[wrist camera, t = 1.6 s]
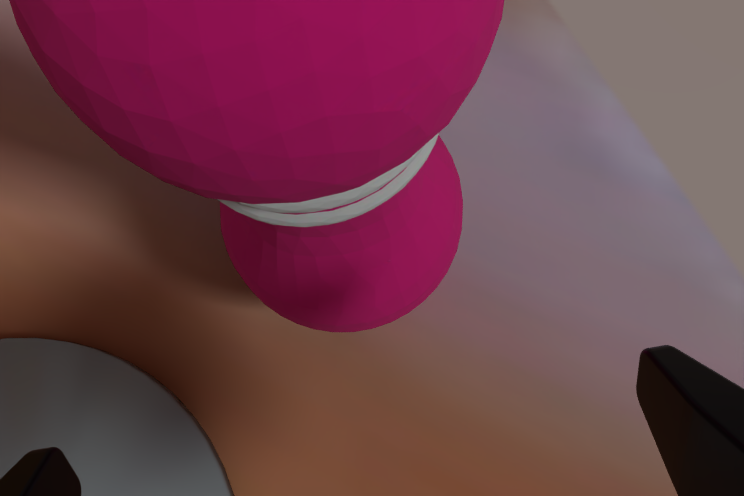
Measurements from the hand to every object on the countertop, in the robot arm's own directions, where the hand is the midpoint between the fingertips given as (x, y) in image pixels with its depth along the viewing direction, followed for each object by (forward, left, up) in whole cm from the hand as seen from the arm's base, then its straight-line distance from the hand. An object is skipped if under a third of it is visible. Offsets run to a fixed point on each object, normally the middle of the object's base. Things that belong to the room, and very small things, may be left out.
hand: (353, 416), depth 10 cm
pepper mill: (+5, -2, -13) cm, 14 cm away
